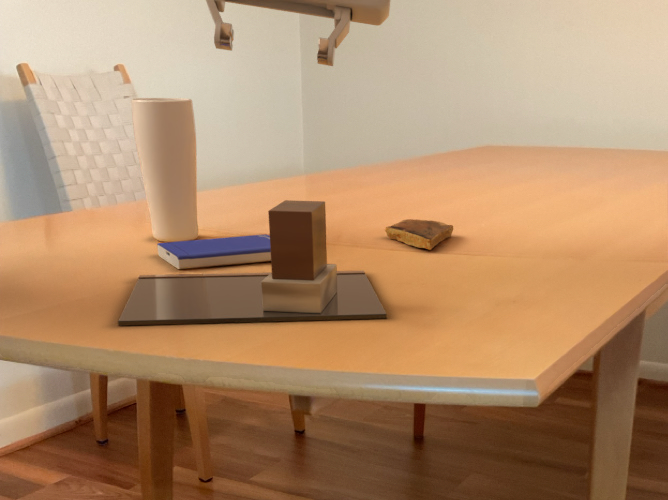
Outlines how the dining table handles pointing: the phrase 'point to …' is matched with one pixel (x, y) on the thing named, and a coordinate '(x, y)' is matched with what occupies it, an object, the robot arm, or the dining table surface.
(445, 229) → the shard
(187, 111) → the white cup
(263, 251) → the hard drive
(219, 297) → the slate
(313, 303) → the brown block with base
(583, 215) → the dining table surface
